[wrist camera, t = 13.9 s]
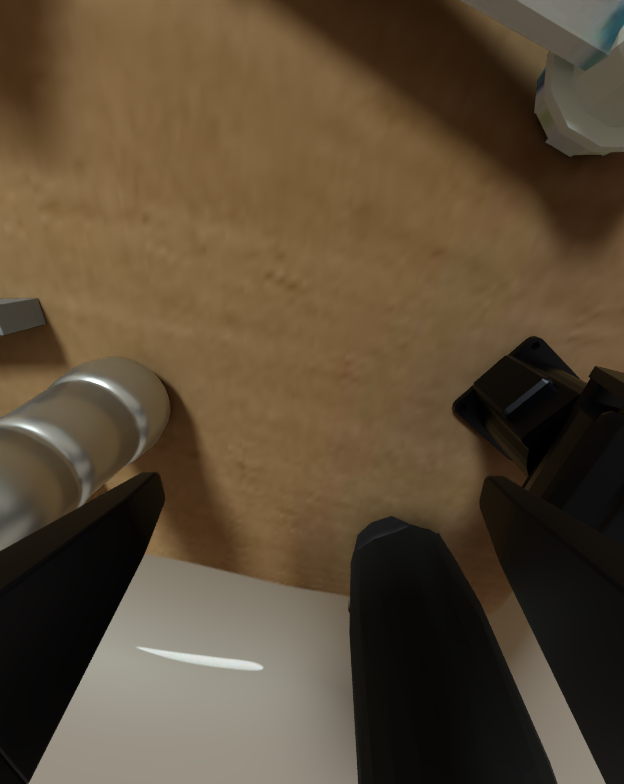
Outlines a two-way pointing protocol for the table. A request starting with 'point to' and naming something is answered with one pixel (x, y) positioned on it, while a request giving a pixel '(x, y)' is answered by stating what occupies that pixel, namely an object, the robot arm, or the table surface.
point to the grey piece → (573, 68)
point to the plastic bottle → (75, 441)
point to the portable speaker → (431, 671)
